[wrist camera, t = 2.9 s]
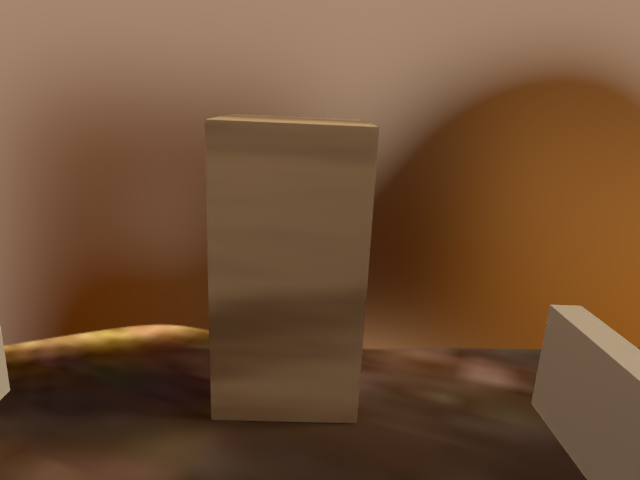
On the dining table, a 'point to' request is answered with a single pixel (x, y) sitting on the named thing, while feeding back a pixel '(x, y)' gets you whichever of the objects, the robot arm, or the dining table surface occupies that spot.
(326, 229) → the maple block
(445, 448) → the dining table surface
